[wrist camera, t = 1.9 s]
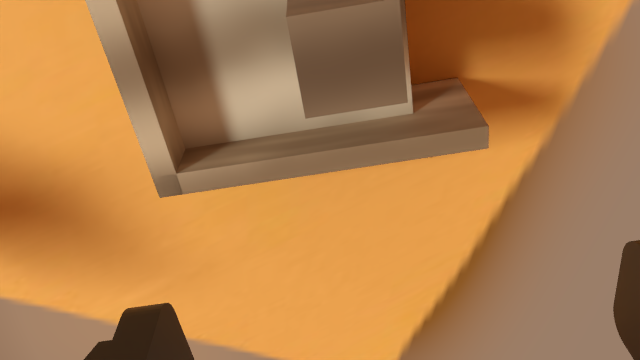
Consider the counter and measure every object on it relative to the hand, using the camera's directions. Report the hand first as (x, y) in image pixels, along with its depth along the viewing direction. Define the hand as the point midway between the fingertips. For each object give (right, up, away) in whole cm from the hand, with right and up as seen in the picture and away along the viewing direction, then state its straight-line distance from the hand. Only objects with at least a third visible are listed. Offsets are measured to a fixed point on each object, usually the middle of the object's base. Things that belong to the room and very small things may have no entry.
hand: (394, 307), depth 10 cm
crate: (-3, +11, +19) cm, 22 cm away
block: (0, +10, +15) cm, 18 cm away
